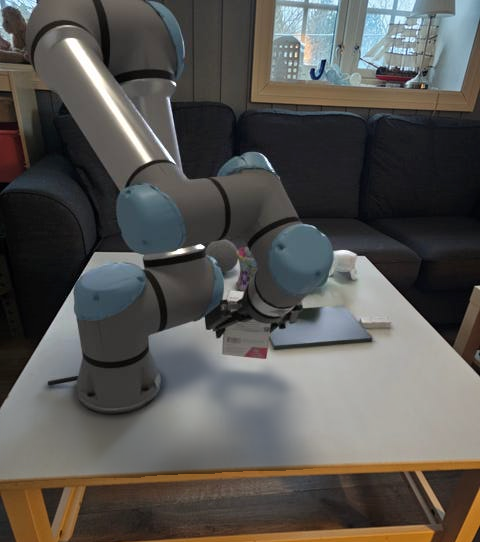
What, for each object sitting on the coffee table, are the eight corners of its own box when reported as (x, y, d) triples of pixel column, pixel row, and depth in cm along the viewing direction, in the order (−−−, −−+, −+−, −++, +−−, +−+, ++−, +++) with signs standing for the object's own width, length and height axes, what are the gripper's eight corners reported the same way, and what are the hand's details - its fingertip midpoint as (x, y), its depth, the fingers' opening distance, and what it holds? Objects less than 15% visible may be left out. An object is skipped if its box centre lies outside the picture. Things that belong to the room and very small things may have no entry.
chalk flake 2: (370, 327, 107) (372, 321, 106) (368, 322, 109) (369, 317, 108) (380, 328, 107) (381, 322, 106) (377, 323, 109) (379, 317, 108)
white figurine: (327, 274, 140) (326, 276, 126) (331, 248, 139) (331, 246, 125) (354, 278, 139) (356, 280, 124) (358, 252, 138) (362, 251, 123)
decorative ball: (197, 271, 130) (197, 240, 125) (218, 262, 137) (219, 232, 132) (223, 281, 125) (225, 248, 120) (243, 271, 132) (245, 240, 127)
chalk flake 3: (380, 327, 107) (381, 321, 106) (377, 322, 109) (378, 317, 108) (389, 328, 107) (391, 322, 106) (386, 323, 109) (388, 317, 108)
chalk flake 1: (361, 328, 106) (362, 322, 105) (358, 323, 108) (360, 317, 107) (370, 328, 106) (372, 322, 105) (368, 323, 108) (369, 318, 107)
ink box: (267, 346, 86) (274, 293, 80) (266, 360, 82) (274, 305, 76) (224, 341, 86) (228, 288, 80) (221, 355, 82) (225, 300, 76)
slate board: (274, 349, 96) (274, 345, 95) (256, 314, 109) (256, 310, 109) (371, 341, 101) (372, 337, 100) (343, 308, 114) (343, 305, 114)
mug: (262, 298, 117) (265, 261, 112) (229, 291, 119) (231, 255, 114) (272, 280, 127) (276, 246, 122) (242, 275, 129) (245, 241, 124)
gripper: (201, 323, 61) (188, 352, 82) (344, 313, 65) (297, 343, 87) (196, 273, 62) (184, 315, 84) (336, 267, 67) (292, 308, 88)
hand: (242, 329), depth 85 cm, fingers closed on ink box, 9 cm apart
